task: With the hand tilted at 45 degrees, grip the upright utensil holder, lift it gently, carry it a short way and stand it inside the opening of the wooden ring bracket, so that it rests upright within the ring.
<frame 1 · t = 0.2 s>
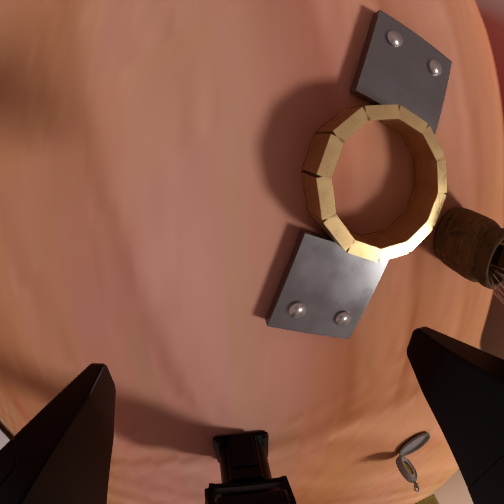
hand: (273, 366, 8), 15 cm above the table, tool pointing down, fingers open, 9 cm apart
wooden ring bracket: (370, 178, 21), on the table
pocket watch: (407, 444, 41), on the table
utensil holder: (452, 233, 24), on the table
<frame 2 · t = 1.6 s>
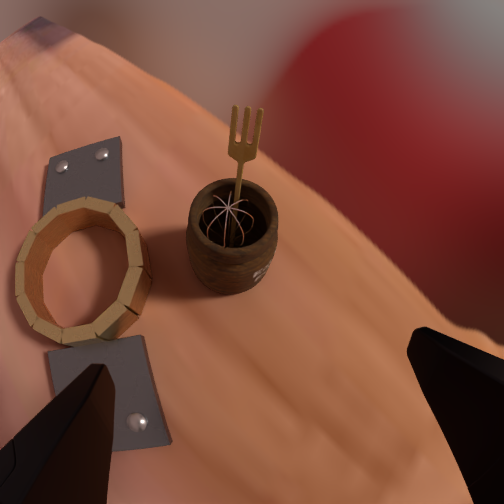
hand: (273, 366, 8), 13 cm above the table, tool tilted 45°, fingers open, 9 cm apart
wooden ring bracket: (86, 277, 21), on the table
utensil holder: (230, 258, 23), on the table
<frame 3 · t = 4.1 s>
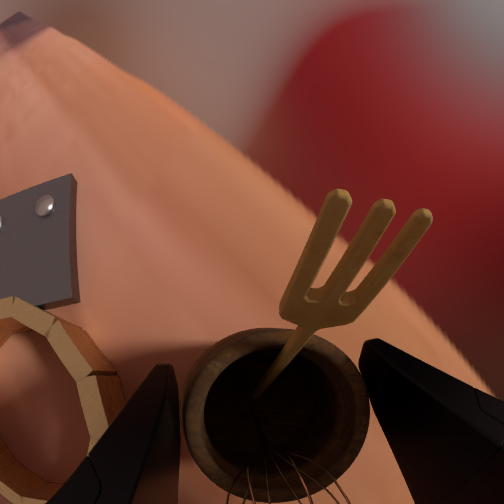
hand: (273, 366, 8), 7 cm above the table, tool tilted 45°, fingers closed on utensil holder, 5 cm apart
wooden ring bracket: (39, 409, 11), on the table
utensil holder: (252, 396, 13), on the table, touching gripper
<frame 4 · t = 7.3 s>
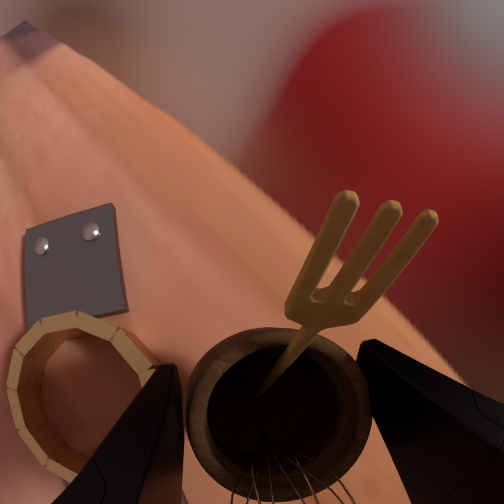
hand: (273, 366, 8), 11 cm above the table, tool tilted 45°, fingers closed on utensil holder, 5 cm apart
wooden ring bracket: (94, 401, 16), on the table
utensil holder: (254, 395, 13), point 4 cm above the table, touching gripper
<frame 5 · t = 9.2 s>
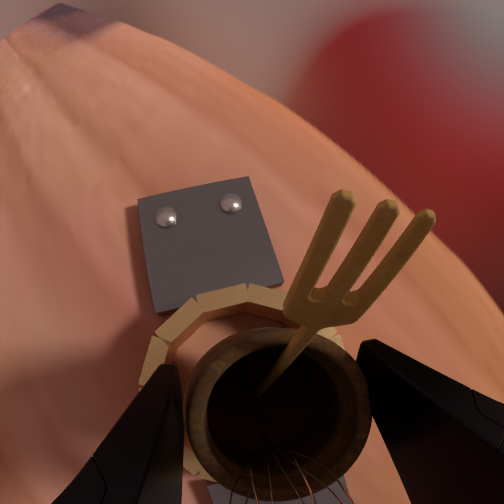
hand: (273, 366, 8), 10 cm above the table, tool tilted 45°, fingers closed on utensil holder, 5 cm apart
wooden ring bracket: (244, 386, 17), on the table
utensil holder: (255, 395, 13), point 4 cm above the table, touching gripper
when the fingers open (7 cm above the table, at t = 10.4 s): utensil holder stays where it is, resting in wooden ring bracket.
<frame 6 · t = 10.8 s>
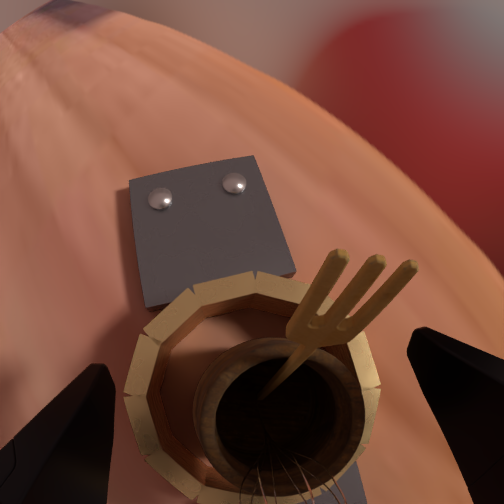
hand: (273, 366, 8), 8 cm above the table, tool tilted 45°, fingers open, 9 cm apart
wooden ring bracket: (251, 394, 14), on the table
utensil holder: (258, 397, 14), resting in wooden ring bracket
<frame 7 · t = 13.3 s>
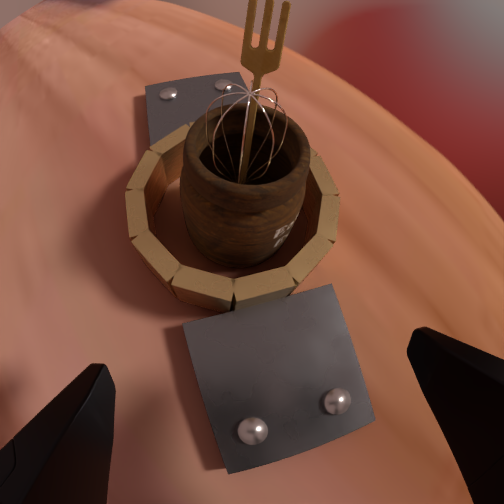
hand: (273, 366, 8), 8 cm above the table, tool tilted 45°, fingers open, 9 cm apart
wooden ring bracket: (231, 218, 18), on the table
utensil holder: (237, 222, 18), resting in wooden ring bracket
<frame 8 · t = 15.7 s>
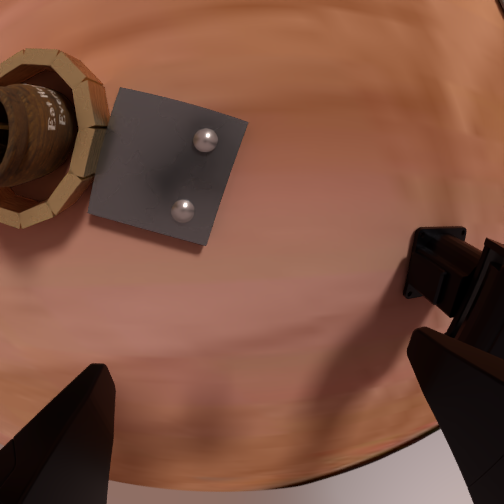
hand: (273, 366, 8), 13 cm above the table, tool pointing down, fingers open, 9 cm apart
wooden ring bracket: (38, 135, 15), on the table
utensil holder: (44, 131, 15), resting in wooden ring bracket
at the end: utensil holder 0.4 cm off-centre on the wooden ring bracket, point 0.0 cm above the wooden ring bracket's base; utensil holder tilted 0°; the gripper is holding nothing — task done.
